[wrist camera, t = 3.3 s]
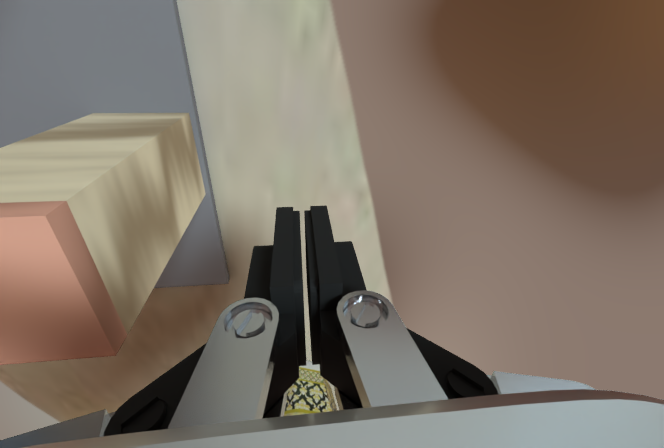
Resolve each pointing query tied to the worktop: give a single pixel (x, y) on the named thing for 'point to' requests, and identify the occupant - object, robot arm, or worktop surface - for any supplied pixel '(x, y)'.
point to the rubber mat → (107, 91)
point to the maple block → (90, 229)
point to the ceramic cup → (309, 393)
